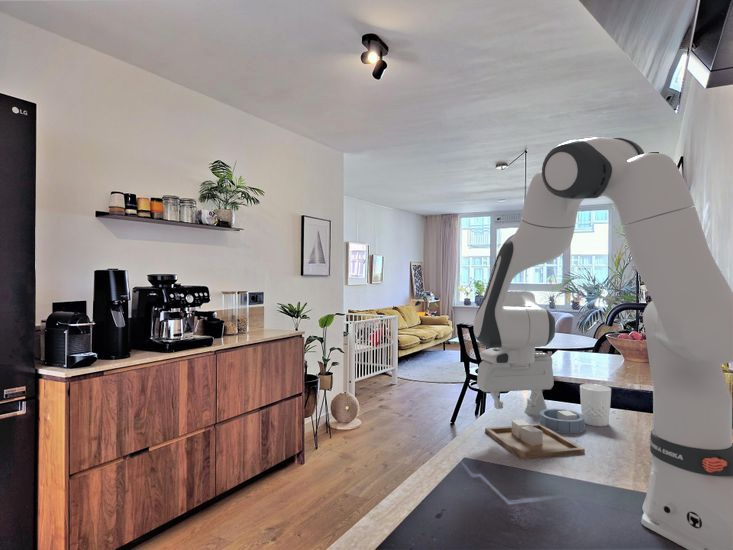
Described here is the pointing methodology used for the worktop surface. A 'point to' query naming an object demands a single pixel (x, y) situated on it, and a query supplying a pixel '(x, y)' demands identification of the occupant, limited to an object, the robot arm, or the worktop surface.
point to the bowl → (561, 421)
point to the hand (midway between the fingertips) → (515, 407)
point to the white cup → (595, 404)
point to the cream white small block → (532, 435)
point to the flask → (539, 406)
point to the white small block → (566, 415)
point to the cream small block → (518, 427)
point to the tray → (523, 450)
